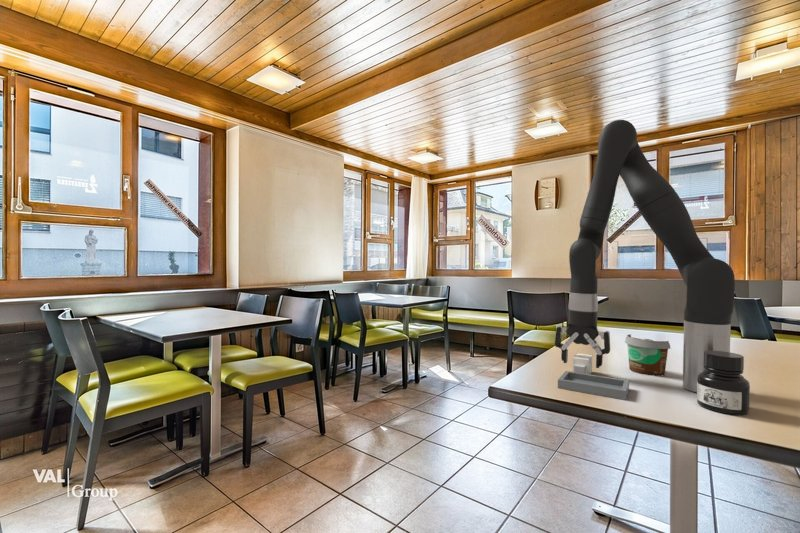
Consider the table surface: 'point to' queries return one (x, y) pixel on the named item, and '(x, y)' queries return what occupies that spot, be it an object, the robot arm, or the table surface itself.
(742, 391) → the ink bottle
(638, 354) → the food container
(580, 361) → the plug
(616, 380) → the tray
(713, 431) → the table surface
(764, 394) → the table surface
